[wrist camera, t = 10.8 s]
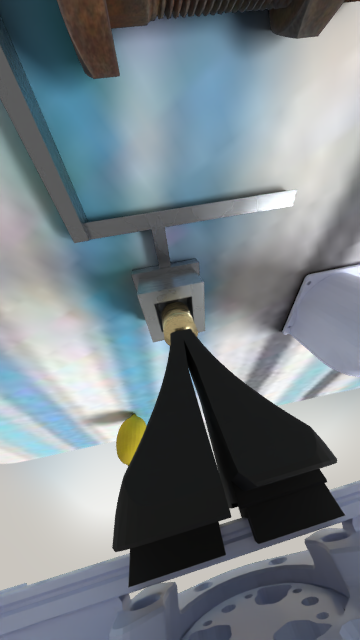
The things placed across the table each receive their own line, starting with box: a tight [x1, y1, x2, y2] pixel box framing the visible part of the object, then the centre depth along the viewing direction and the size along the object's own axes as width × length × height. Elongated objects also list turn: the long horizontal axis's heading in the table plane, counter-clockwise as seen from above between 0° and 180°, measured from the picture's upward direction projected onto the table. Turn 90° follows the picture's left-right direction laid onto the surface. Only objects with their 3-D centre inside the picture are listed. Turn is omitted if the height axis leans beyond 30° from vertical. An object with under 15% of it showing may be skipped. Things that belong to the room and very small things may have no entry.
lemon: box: [116, 414, 147, 466], centre depth 28 cm, size 6×6×8 cm
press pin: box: [161, 302, 198, 345], centre depth 11 cm, size 2×2×3 cm
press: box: [0, 16, 297, 342], centre depth 10 cm, size 21×17×4 cm
